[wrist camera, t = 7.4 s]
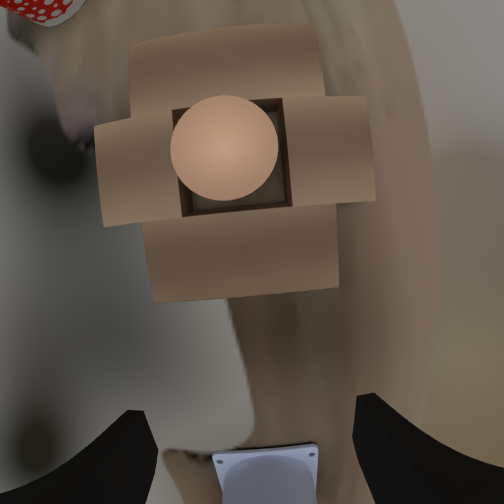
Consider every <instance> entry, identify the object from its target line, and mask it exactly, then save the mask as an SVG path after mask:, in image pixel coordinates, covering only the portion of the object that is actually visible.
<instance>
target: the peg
mask: <svg viewBox="0 0 504 504" xmlns="http://www.w3.org/2000/svg"><path fill="white" fill-rule="evenodd" d="M170 154H171V160H172V164H173V167H174V169H175V171H176V174H177V175H178V177H179V178H180V180H181V181H182V182H183V183H184V184H185V185H186V186H187V187H188V188H189V189H190V190H192V191H193V192H195V193H196V194H198V195H200V196H202V197H205V198H208V199H213V200H221V201H224V200H234V199H238V198H241V197H244V196H246V195H248V194H250V193H252V192H253V191H255V190H256V189H258V188H259V187H260V186H261V185H262V184H263V183H264V182H265V181H266V180H267V178H268V177H269V176H270V174H271V172H272V170H273V168H274V166H275V163H276V160H277V156H278V139H277V134H276V131H275V128H274V126H273V124H272V122H271V120H270V119H269V117H268V116H267V115H266V113H265V112H264V111H263V110H262V109H261V108H260V107H258V106H257V105H255V104H254V103H252V102H250V101H248V100H246V99H243V98H240V97H236V96H228V95H223V96H215V97H210V98H207V99H204V100H202V101H200V102H198V103H197V104H195V105H193V106H192V107H191V108H190V109H188V110H187V111H186V112H185V113H184V114H183V116H182V117H181V118H180V120H179V121H178V123H177V125H176V126H175V129H174V131H173V134H172V138H171V145H170Z"/></svg>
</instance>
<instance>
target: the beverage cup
mask: <svg viewBox="0 0 504 504" xmlns="http://www.w3.org/2000/svg"><path fill="white" fill-rule="evenodd" d="M84 2H85V0H0V6H1V7H4V8H6V9H8V10H10V11H12V12H14V13H17V14H19V15H21V16H23V17H25V18H27V19H29V20H31V21H33V22H35V23H37V24H39V25H41V26H46V27H52V26H55V25H59V24H61V23H62V22H64V21H66V20H67V19H69V18H71V17H72V16H73V15H74V14H75V13H76V12H77V11H78V10H79V9H80V8H81V6H82V5H83V3H84Z"/></svg>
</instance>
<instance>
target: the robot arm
mask: <svg viewBox="0 0 504 504" xmlns="http://www.w3.org/2000/svg"><path fill="white" fill-rule="evenodd" d="M352 438H353V443H354V447H355V451H356V454H357V458H358V462H359V464H360V467H361V469H362V472H363V474H364V477H365V479H366V481H367V484H368V486H369V489H370V491H371V494H372V496H373V499H374V501H375V504H504V468H503V467H498V466H495V465H491V464H488V463H485V462H482V461H479V460H477V459H474V458H471V457H469V456H466V455H464V454H461V453H459V452H457V451H455V450H453V449H451V448H450V447H448V446H446V445H444V444H442V443H440V442H439V441H437V440H435V439H434V438H432V437H431V436H429V435H427V434H426V433H424V432H423V431H421V430H420V429H419V428H417V427H416V426H415V425H413V424H412V423H411V422H409V421H408V420H407V419H405V418H404V417H403V416H401V415H400V414H399V413H398V412H397V411H395V410H394V409H393V408H392V407H391V406H389V405H388V404H387V403H386V402H385V401H383V400H382V399H381V398H380V397H379V396H377V395H376V394H375V393H369V394H364V395H359V396H357V399H356V409H355V418H354V426H353V434H352ZM157 455H158V448H157V445H156V443H155V441H154V438H153V435H152V433H151V430H150V427H149V425H148V422H147V420H146V417H145V414H144V411H139V410H138V411H137V410H127V411H126V412H125V413H124V414H122V415H121V416H120V417H119V418H118V419H117V420H116V421H115V422H114V423H113V424H112V425H110V426H109V427H108V428H107V429H106V430H105V431H104V432H103V433H102V434H101V435H100V436H99V437H97V438H96V439H95V440H94V441H93V442H92V443H91V444H89V445H88V446H87V447H85V448H84V449H83V450H82V451H80V452H79V453H78V454H77V455H75V456H74V457H73V458H71V459H70V460H69V461H67V462H66V463H64V464H63V465H61V466H60V467H58V468H57V469H55V470H53V471H52V472H50V473H48V474H46V475H45V476H43V477H41V478H39V479H37V480H34V481H32V482H30V483H28V484H26V485H24V486H21V487H19V488H16V489H13V490H10V491H7V492H4V493H1V494H0V504H145V503H146V500H147V496H148V494H149V490H150V487H151V484H152V481H153V477H154V474H155V468H156V463H157ZM212 458H213V462H214V465H215V469H216V472H217V475H218V479H219V482H220V486H221V489H222V492H223V498H222V504H318V502H317V497H316V483H317V467H318V446H317V445H316V444H305V445H298V446H289V447H279V448H268V449H254V450H235V451H216V452H214V453H213V457H212ZM220 460H221V461H220Z"/></svg>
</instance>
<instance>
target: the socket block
mask: <svg viewBox="0 0 504 504" xmlns="http://www.w3.org/2000/svg"><path fill="white" fill-rule="evenodd" d="M129 81H130V109H131V118H127V119H123V120H118V121H114V122H110V123H106V124H101V125H98V126H94V136H95V152H96V164H97V175H98V185H99V194H100V202H101V210H102V218H103V224H104V227H110V226H117V225H124V224H132V223H140V222H141V226H142V233H143V240H144V246H145V252H146V259H147V265H148V271H149V276H150V282H151V288H152V293H153V298H154V303H167V302H182V301H196V300H210V299H221V298H235V297H246V296H257V295H268V294H279V293H289V292H298V291H308V290H317V289H326V288H335V287H339V257H338V231H337V212H336V203H349V202H365V201H376V190H375V175H374V162H373V151H372V140H371V131H370V122H369V114H368V107H367V99H366V97H354V96H326V95H325V88H324V81H323V74H322V67H321V61H320V54H319V48H318V42H317V37H316V31H315V25H314V23H272V24H254V25H241V26H230V27H221V28H213V29H205V30H199V31H192V32H186V33H180V34H175V35H169V36H164V37H159V38H155V39H150V40H146V41H142V42H137V43H133V44H129ZM223 95H228V96H236V97H240V98H243V99H246V100H248V101H250V102H252V103H254V104H255V105H257V106H258V107H260V108H261V109H262V110H263V111H264V112H271V111H277V116H278V126H279V135H280V145H281V156H282V166H283V177H284V189H285V201H286V202H280V203H269V204H258V205H247V206H237V207H227V208H217V209H207V210H198V211H193V205H192V196H191V190H190V189H189V188H188V187H187V186H186V185H185V184H184V183H183V182H182V181H181V180H180V178H179V177H178V175H177V174H176V171H175V169H174V167H173V164H172V160H171V154H170V145H171V138H172V134H173V131H174V129H175V126H176V125H177V123H178V121H179V120H180V118H181V117H182V116H183V114H184V113H185V112H186V111H187V110H188V109H190V108H191V107H192V106H193V105H195V104H197V103H198V102H200V101H202V100H204V99H207V98H210V97H215V96H223Z"/></svg>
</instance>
